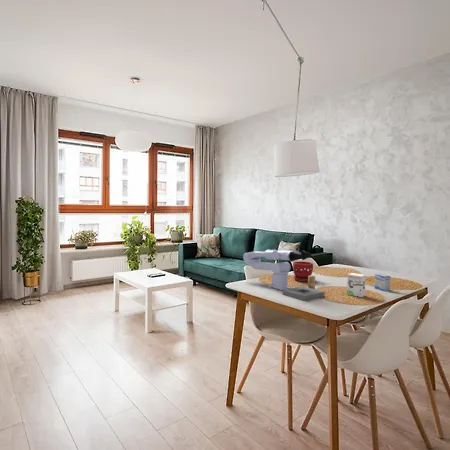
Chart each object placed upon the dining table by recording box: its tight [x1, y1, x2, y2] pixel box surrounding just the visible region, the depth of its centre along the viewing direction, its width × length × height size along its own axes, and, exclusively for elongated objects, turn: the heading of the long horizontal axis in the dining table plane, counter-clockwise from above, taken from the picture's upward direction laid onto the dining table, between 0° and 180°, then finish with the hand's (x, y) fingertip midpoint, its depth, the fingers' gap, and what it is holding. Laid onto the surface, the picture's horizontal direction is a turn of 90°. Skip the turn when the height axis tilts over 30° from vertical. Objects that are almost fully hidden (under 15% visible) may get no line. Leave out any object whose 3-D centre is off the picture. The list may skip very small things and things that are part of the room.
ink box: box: [346, 272, 366, 298], centre depth 192 cm, size 9×5×12 cm, turn 48°
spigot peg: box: [307, 275, 316, 289], centre depth 205 cm, size 4×4×8 cm
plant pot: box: [292, 261, 314, 282], centre depth 231 cm, size 13×13×12 cm
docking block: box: [282, 285, 325, 302], centre depth 192 cm, size 16×16×2 cm
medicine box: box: [374, 273, 391, 292], centre depth 206 cm, size 8×4×9 cm, turn 21°
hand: (306, 256), depth 192 cm, fingers open, 7 cm apart
